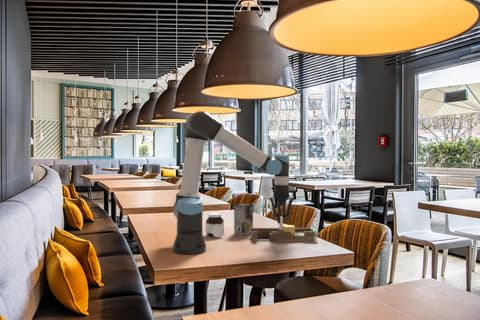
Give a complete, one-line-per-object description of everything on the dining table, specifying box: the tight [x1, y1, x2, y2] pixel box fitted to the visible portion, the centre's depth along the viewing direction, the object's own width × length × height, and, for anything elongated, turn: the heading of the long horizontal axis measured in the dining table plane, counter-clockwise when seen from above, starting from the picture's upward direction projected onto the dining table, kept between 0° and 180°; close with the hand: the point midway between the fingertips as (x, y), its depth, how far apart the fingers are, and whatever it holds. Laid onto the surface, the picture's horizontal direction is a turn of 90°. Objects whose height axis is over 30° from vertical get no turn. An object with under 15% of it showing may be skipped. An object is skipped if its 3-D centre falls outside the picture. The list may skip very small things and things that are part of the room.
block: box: [282, 224, 296, 235], centre depth 212 cm, size 5×6×4 cm
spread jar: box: [205, 212, 225, 239], centre depth 219 cm, size 12×11×12 cm
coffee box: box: [233, 203, 254, 236], centre depth 226 cm, size 9×6×16 cm
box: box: [250, 226, 318, 243], centre depth 212 cm, size 10×33×6 cm, turn 93°
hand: (281, 229), depth 212 cm, fingers closed
